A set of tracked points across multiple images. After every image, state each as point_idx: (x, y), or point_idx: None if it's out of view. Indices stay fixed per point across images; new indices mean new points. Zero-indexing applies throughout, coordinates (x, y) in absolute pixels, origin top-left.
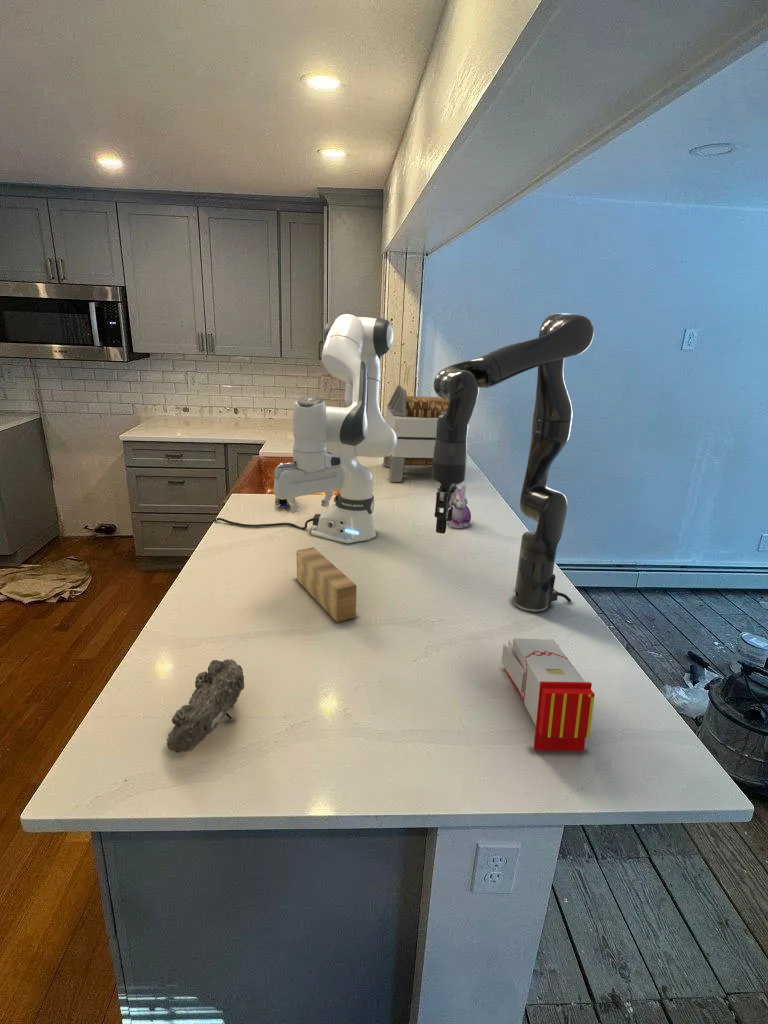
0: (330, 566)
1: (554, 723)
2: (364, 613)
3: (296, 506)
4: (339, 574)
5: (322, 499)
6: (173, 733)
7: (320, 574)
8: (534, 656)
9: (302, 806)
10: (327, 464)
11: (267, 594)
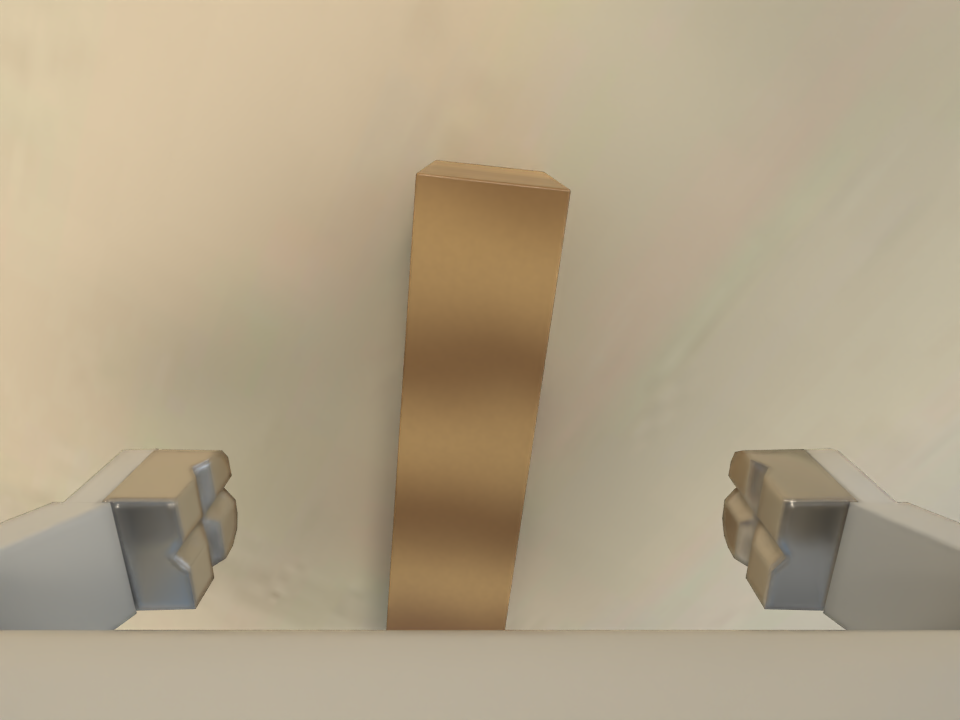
0: (491, 522)
1: None
2: (535, 597)
3: (153, 602)
4: (479, 621)
5: (813, 504)
6: None
7: (391, 560)
8: None
9: None
10: None
11: (219, 235)
